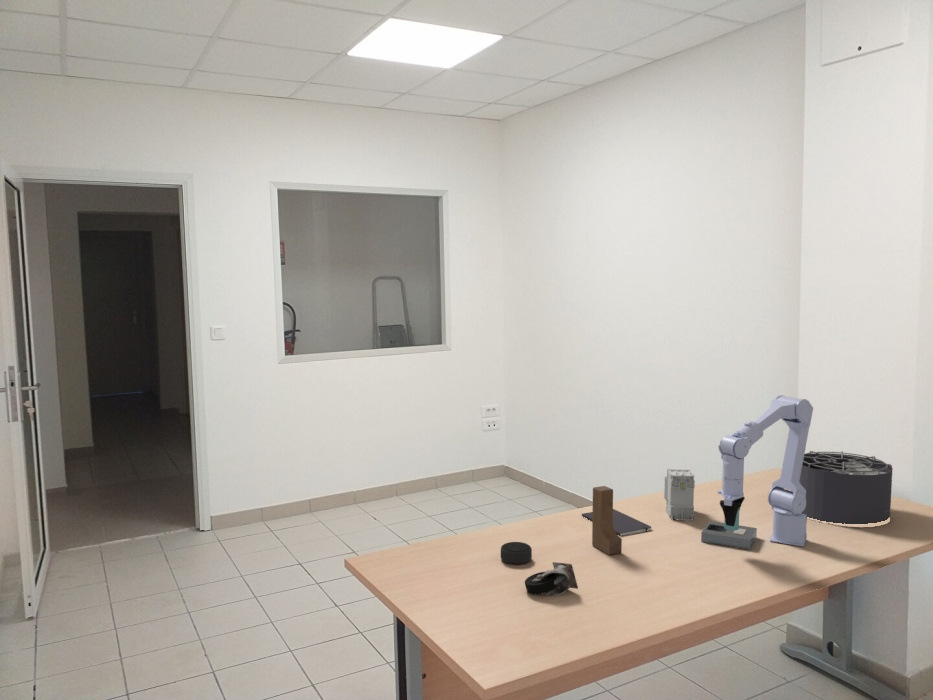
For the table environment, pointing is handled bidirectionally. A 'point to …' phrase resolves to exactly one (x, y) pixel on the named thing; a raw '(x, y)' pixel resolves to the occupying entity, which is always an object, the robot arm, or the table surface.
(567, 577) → the caster wheel
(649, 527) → the notebook
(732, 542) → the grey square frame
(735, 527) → the barrel peg
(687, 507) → the circuit breaker
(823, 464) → the ventilation fan
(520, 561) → the smart speaker
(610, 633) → the table surface
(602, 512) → the wooden block
